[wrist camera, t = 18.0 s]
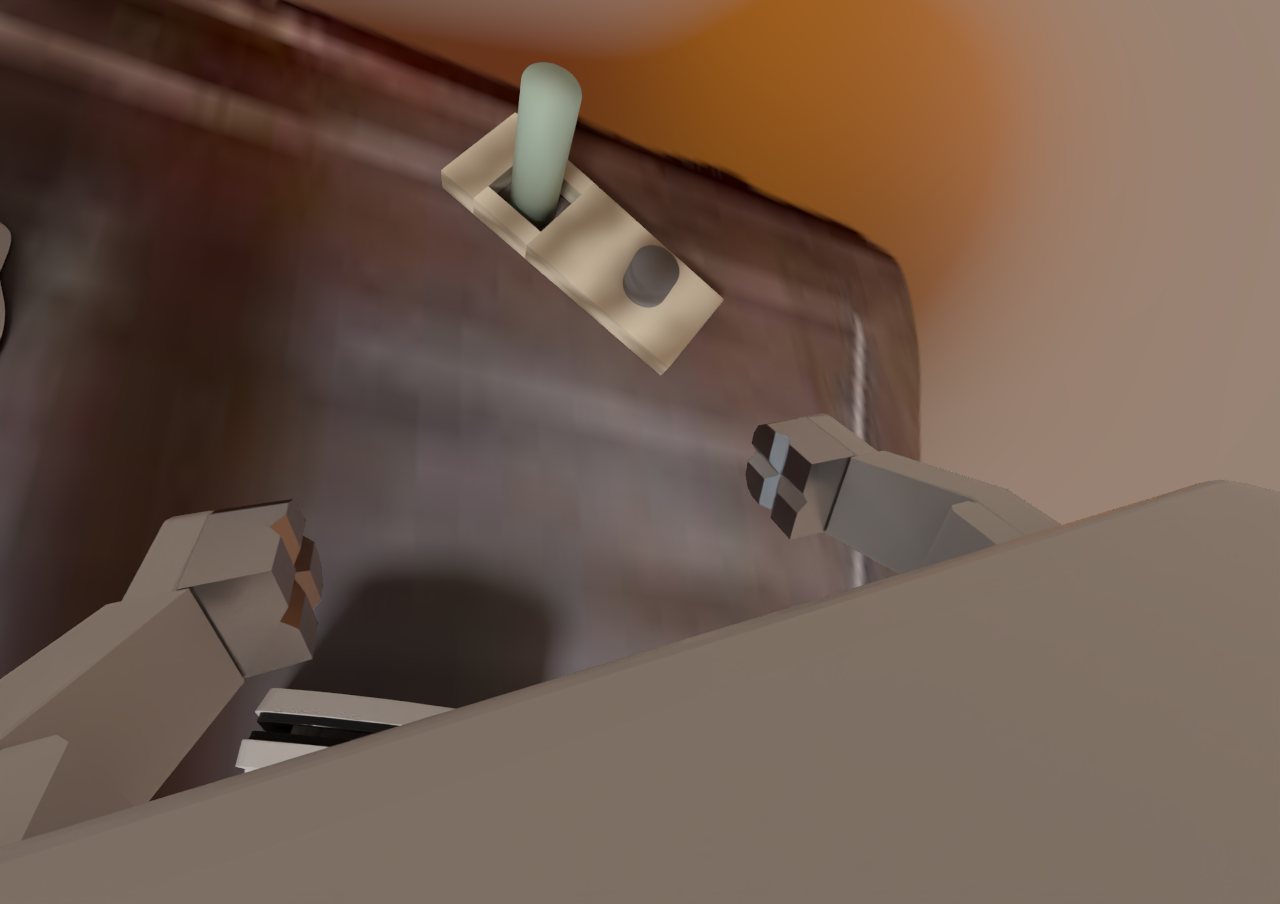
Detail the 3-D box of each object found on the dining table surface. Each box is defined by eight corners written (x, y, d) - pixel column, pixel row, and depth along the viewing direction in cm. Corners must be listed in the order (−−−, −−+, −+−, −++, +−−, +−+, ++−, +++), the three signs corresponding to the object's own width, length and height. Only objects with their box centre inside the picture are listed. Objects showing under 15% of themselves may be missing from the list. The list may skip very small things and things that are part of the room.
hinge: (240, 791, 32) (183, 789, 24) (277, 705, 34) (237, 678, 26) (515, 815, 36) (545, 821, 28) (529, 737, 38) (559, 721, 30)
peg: (499, 203, 45) (508, 81, 34) (529, 177, 46) (547, 52, 35) (535, 235, 45) (556, 125, 34) (564, 208, 47) (593, 94, 35)
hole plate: (442, 187, 44) (438, 141, 39) (513, 130, 47) (518, 82, 42) (660, 375, 46) (682, 353, 41) (714, 309, 49) (739, 282, 44)
